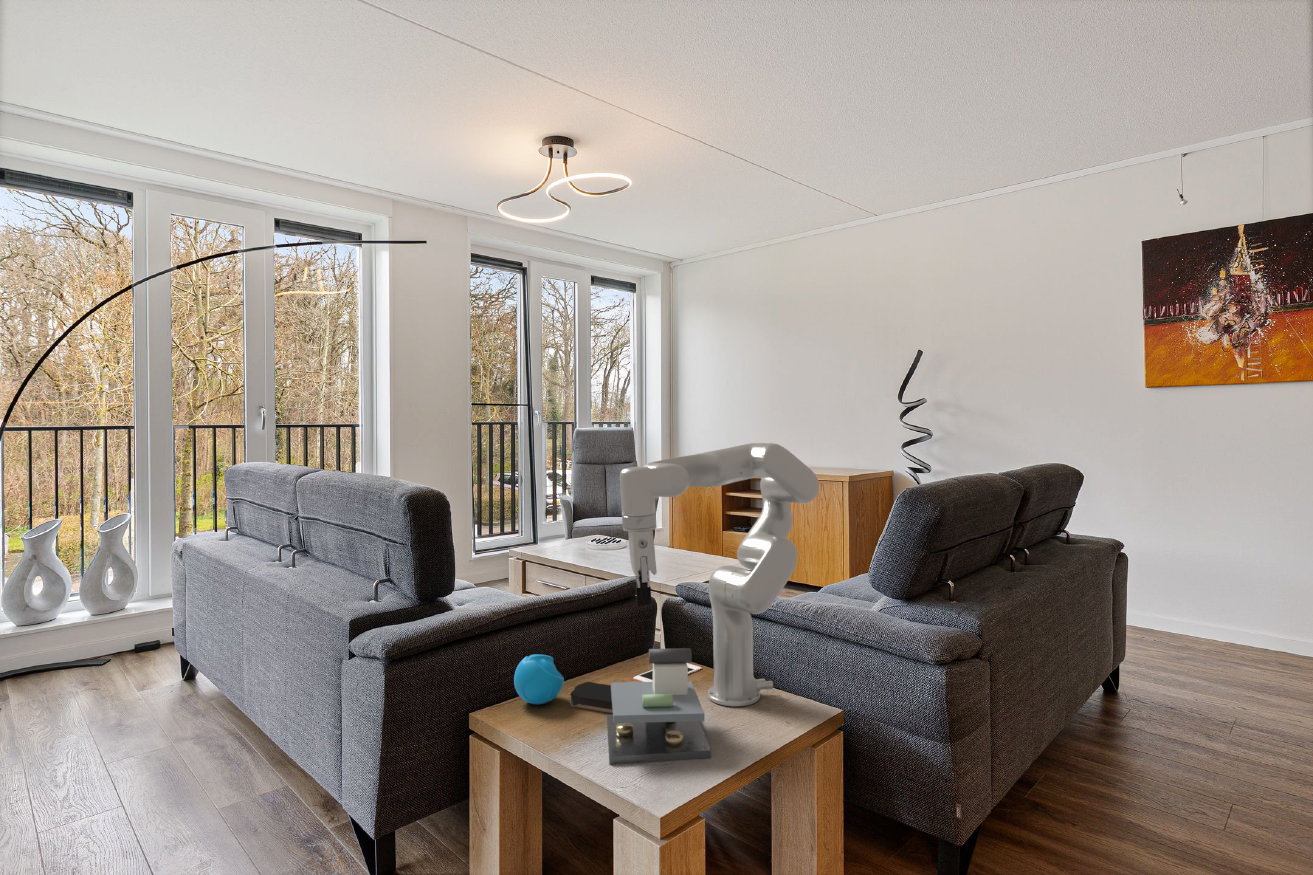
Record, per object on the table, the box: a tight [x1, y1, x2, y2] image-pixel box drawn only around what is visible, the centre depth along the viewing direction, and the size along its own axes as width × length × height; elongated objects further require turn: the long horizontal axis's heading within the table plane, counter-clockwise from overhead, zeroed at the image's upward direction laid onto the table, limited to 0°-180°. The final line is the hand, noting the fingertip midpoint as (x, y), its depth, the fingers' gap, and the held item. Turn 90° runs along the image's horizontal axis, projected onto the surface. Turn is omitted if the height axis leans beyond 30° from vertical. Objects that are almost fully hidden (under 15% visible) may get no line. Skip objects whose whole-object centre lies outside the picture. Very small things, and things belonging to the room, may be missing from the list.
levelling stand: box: [606, 713, 712, 765], centre depth 143 cm, size 20×20×5 cm
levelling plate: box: [610, 647, 705, 723], centre depth 143 cm, size 18×18×12 cm
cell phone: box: [633, 663, 702, 682], centre depth 182 cm, size 9×18×1 cm, turn 136°
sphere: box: [513, 654, 565, 705], centre depth 164 cm, size 12×11×12 cm
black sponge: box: [570, 681, 613, 714], centre depth 162 cm, size 16×8×4 cm, turn 65°
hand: (644, 603), depth 152 cm, fingers closed
